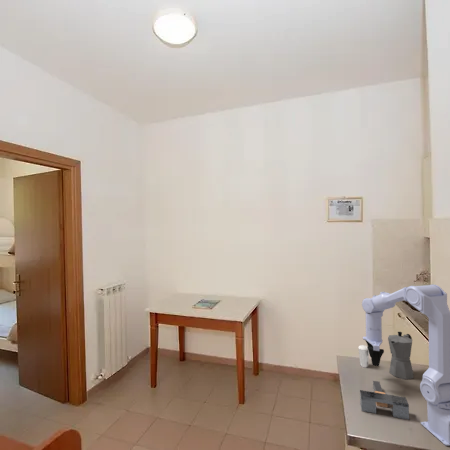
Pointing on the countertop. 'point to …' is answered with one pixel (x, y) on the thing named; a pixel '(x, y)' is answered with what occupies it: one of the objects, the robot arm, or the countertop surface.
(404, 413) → the grey bridge block
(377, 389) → the plug
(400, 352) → the coffeepot
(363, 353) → the milkshake
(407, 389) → the countertop surface
